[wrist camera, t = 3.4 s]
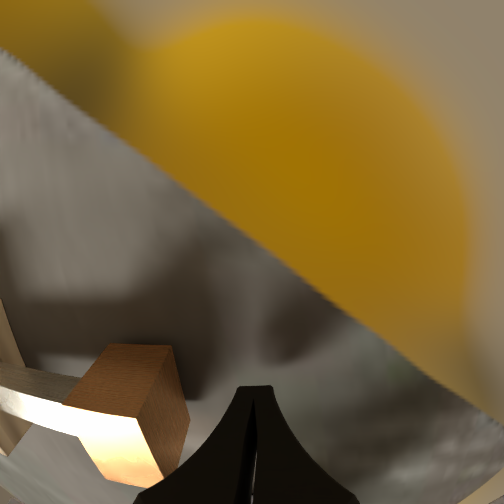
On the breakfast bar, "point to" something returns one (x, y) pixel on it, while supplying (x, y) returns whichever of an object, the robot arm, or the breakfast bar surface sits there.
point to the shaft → (110, 409)
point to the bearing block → (3, 424)
